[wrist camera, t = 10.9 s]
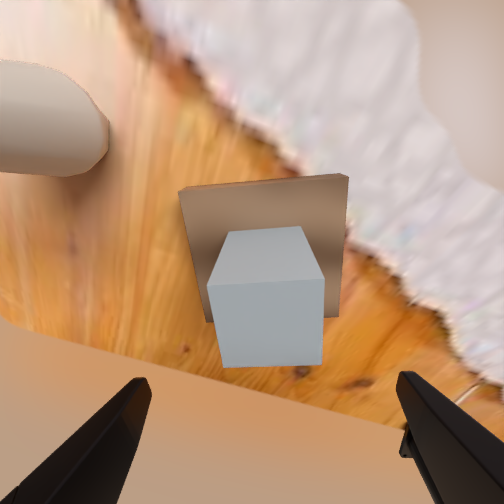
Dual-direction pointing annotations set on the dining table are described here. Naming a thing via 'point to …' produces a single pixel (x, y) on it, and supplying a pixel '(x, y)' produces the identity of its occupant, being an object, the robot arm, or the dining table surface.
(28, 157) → the salt shaker
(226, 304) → the slate block
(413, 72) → the dining table surface
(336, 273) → the walnut plinth
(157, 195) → the dining table surface
